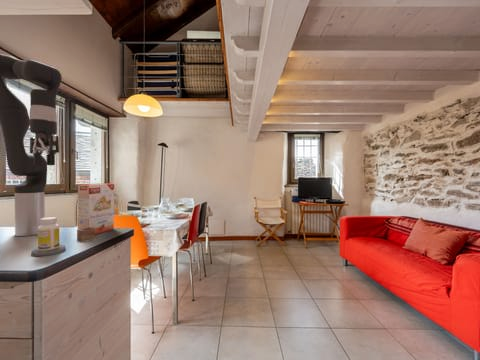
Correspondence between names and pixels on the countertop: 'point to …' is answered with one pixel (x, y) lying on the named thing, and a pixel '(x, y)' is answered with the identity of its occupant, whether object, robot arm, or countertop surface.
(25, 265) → the countertop surface
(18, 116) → the robot arm
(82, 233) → the walnut block
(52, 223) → the supplement bottle
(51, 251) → the slate pad
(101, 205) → the cracker box
